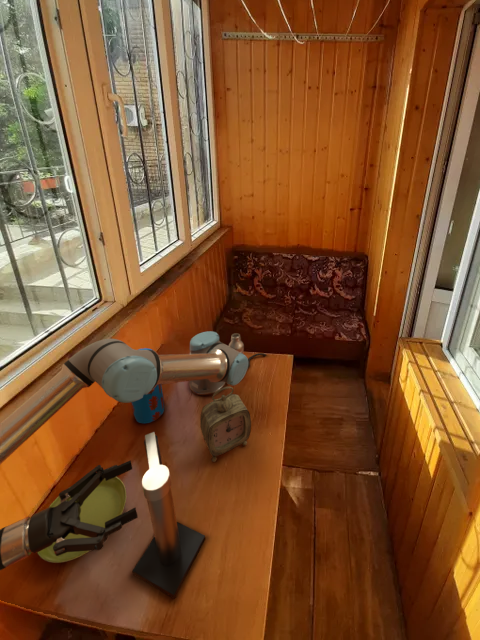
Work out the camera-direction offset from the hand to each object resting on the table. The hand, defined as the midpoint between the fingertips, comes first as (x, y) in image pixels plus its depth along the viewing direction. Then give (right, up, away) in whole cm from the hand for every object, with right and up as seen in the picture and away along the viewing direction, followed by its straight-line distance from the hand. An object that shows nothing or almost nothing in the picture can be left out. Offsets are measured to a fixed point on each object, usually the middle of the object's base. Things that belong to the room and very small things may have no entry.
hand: (134, 486), depth 81 cm
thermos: (-12, +1, +37) cm, 39 cm away
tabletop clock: (+19, -4, +24) cm, 31 cm away
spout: (+8, -7, -1) cm, 11 cm away
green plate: (-15, -12, +3) cm, 19 cm away
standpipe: (+11, -14, -4) cm, 18 cm away
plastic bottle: (+18, +8, +57) cm, 60 cm away
